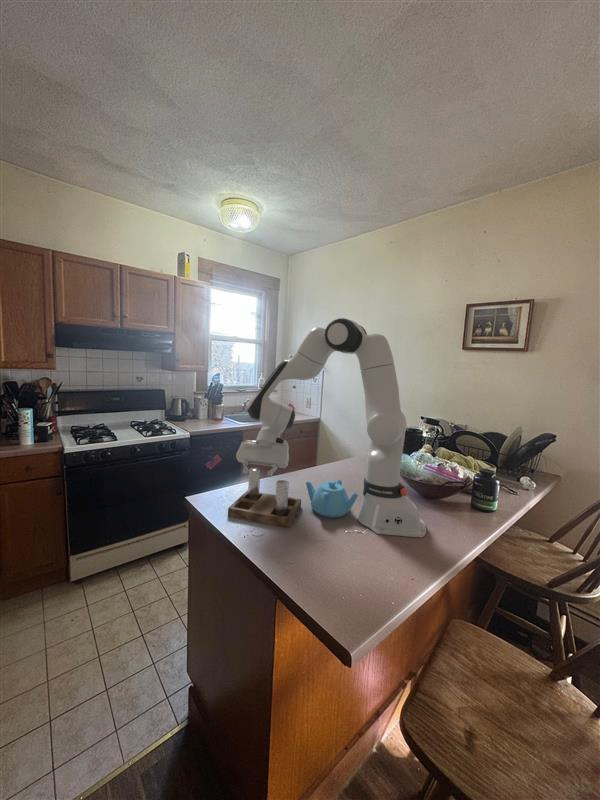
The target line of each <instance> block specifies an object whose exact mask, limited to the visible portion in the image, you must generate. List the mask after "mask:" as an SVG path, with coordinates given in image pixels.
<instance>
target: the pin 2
mask: <svg viewBox="0 0 600 800" xmlns="http://www.w3.org/2000/svg"><path fill="white" fill-rule="evenodd" d="M275 485H276V487H275V495H276V500H275V515H279V516H285V517H287V504H288V497H289V486H290V483H289V481H288V480H283V479H280V480H277V481H276V484H275Z"/></svg>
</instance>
